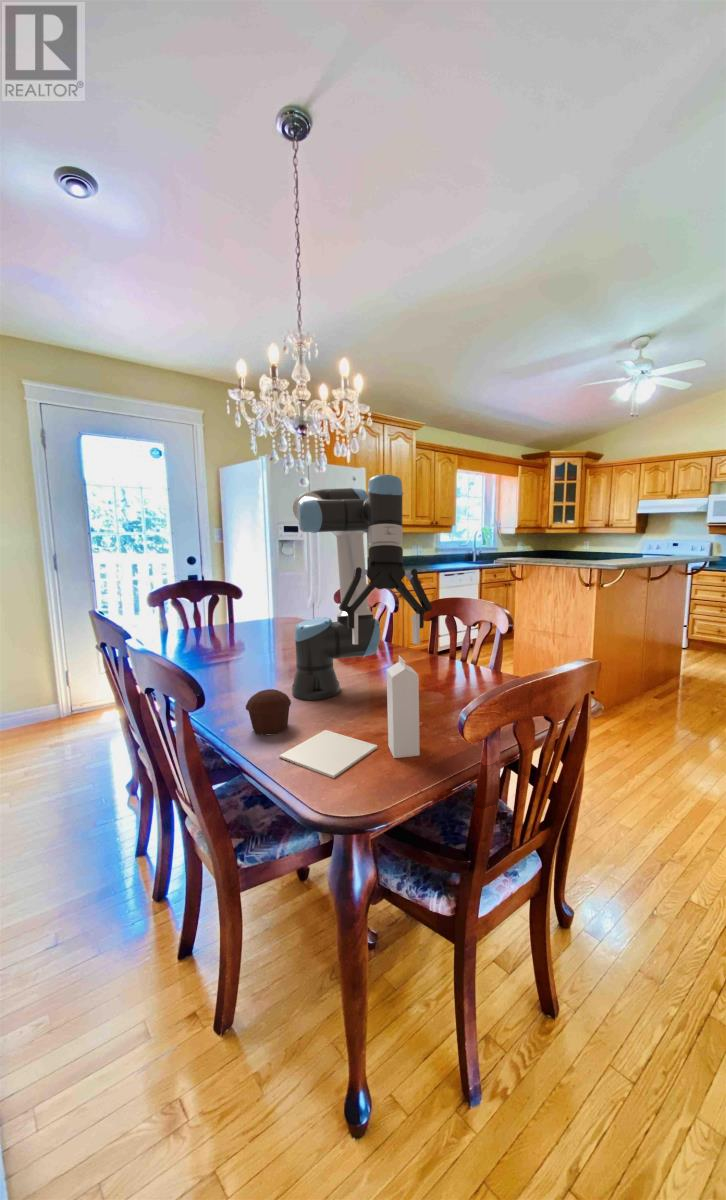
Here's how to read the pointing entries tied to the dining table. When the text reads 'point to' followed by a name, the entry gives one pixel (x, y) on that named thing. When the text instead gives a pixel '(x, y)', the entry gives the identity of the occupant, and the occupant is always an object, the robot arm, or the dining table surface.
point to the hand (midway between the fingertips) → (386, 644)
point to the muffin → (269, 711)
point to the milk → (403, 710)
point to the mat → (328, 753)
